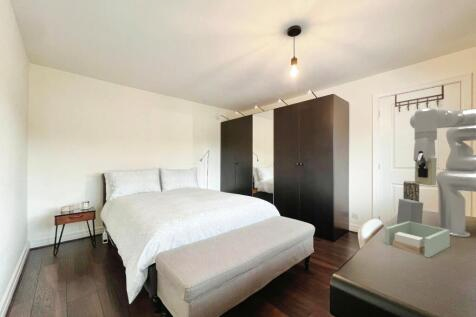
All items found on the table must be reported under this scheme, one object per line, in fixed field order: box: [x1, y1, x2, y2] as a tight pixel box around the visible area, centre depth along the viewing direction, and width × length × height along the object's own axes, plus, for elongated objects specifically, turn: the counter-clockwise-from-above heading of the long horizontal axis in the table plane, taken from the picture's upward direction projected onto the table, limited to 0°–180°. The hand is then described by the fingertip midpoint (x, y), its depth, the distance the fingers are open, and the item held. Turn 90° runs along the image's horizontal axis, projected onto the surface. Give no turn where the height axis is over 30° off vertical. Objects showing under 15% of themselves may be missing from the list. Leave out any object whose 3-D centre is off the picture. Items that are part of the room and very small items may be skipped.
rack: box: [384, 221, 451, 258], centre depth 88 cm, size 22×14×7 cm, turn 120°
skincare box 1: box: [396, 198, 424, 225], centre depth 108 cm, size 8×7×16 cm
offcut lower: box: [392, 239, 425, 255], centre depth 84 cm, size 5×9×3 cm, turn 29°
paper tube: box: [402, 180, 420, 202], centre depth 116 cm, size 7×7×25 cm
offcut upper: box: [395, 232, 424, 247], centre depth 84 cm, size 5×8×3 cm, turn 34°
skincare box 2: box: [414, 157, 438, 186], centre depth 93 cm, size 6×4×12 cm
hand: (425, 176), depth 93 cm, fingers closed on skincare box 2, 4 cm apart
